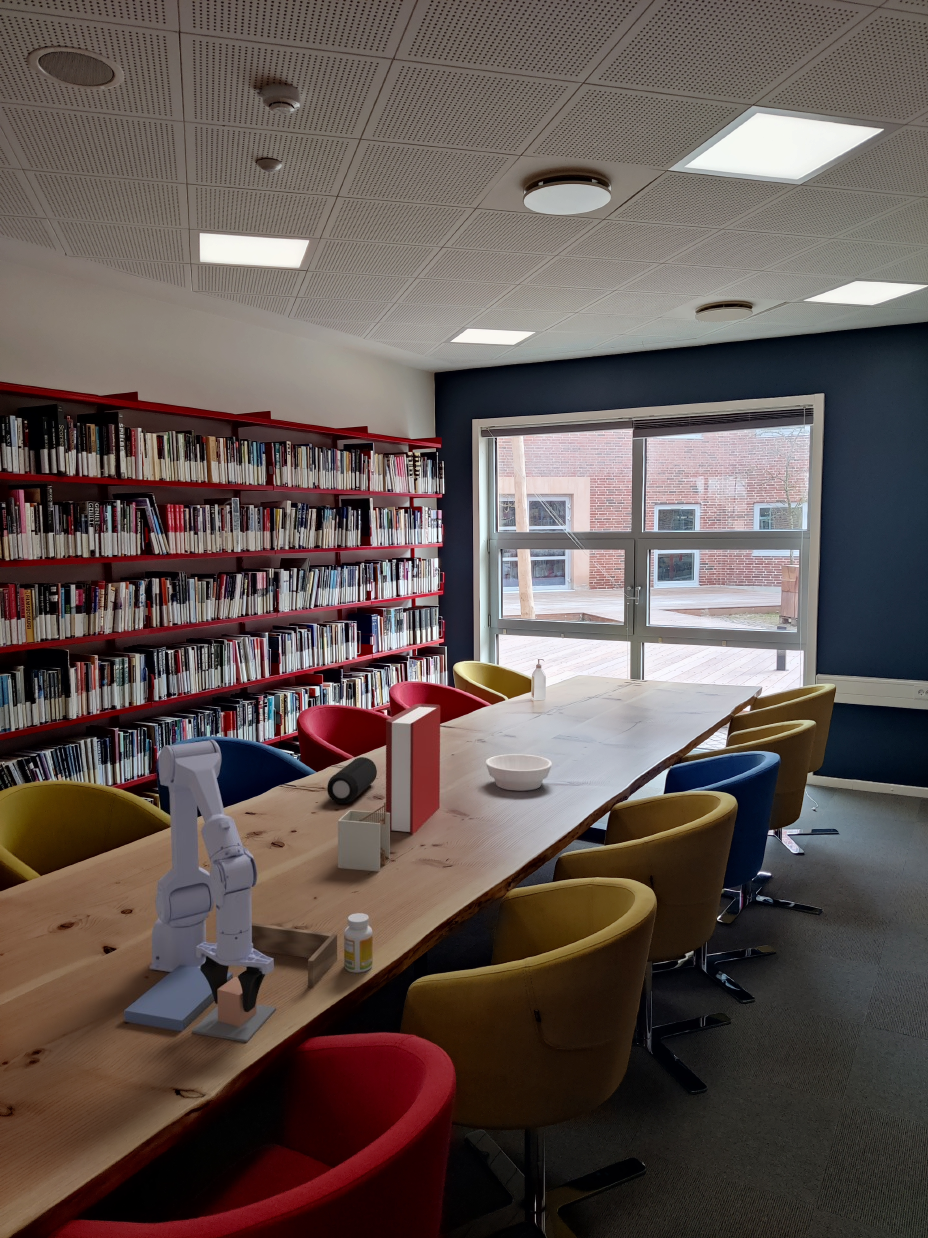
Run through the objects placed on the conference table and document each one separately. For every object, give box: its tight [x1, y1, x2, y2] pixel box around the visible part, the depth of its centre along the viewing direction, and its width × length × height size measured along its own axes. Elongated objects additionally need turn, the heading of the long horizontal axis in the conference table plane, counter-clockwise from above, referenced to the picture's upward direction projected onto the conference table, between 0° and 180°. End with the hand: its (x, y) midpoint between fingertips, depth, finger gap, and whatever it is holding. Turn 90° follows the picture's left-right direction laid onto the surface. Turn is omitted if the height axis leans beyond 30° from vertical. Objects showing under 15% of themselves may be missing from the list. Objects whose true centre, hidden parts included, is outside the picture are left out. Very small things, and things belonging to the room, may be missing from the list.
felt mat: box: [191, 1003, 277, 1043], centre depth 141 cm, size 10×10×1 cm
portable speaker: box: [326, 756, 378, 805], centre depth 272 cm, size 26×10×10 cm, turn 169°
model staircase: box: [337, 802, 391, 872], centre depth 212 cm, size 9×11×17 cm
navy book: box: [124, 965, 234, 1032], centre depth 147 cm, size 16×11×2 cm
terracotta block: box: [217, 976, 257, 1027], centre depth 141 cm, size 4×4×6 cm
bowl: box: [485, 753, 553, 792], centre depth 284 cm, size 22×22×8 cm
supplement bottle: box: [343, 912, 374, 974], centre depth 160 cm, size 5×5×10 cm
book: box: [385, 703, 441, 836], centre depth 247 cm, size 27×8×32 cm, turn 165°
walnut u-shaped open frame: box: [252, 922, 338, 988], centre depth 160 cm, size 20×11×5 cm, turn 75°
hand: (235, 1005), depth 141 cm, fingers open, 5 cm apart
